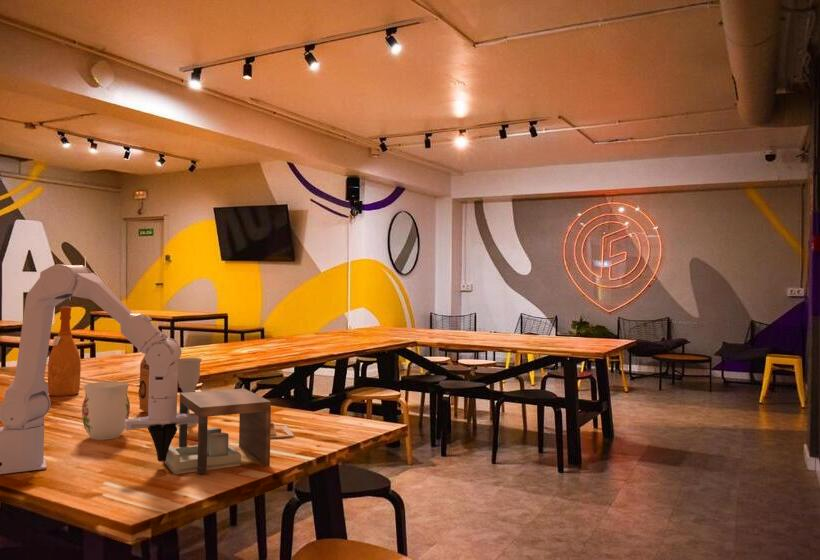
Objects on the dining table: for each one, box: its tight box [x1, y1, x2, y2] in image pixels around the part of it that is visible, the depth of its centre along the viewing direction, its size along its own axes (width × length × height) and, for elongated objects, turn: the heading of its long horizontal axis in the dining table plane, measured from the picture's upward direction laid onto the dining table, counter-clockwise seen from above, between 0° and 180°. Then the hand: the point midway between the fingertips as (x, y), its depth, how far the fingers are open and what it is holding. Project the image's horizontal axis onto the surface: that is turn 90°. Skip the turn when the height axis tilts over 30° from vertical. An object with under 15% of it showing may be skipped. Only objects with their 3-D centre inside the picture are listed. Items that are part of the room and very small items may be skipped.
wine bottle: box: [47, 305, 82, 397], centre depth 220 cm, size 10×10×30 cm
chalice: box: [176, 357, 202, 428], centre depth 178 cm, size 7×7×18 cm
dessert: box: [270, 422, 295, 440], centre depth 170 cm, size 12×12×5 cm
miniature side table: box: [178, 387, 272, 477], centre depth 144 cm, size 15×19×14 cm
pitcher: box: [81, 381, 131, 441], centre depth 164 cm, size 11×18×14 cm, turn 34°
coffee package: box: [137, 355, 173, 415], centre depth 193 cm, size 10×12×22 cm
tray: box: [162, 426, 242, 475], centre depth 142 cm, size 14×12×6 cm
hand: (161, 460), depth 138 cm, fingers closed
